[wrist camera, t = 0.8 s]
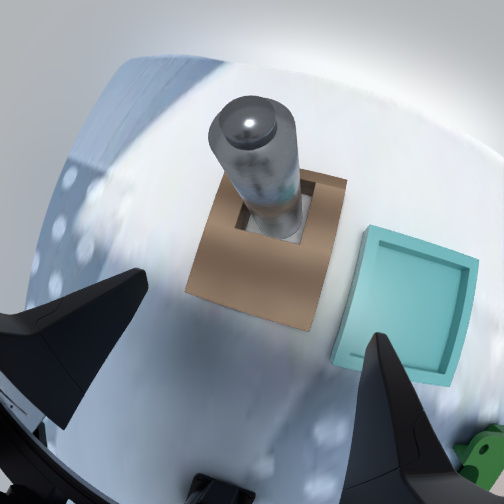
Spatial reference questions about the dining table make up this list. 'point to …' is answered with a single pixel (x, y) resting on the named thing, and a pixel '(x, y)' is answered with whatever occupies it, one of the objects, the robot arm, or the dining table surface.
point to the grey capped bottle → (261, 161)
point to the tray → (408, 305)
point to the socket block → (267, 256)
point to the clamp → (483, 457)
